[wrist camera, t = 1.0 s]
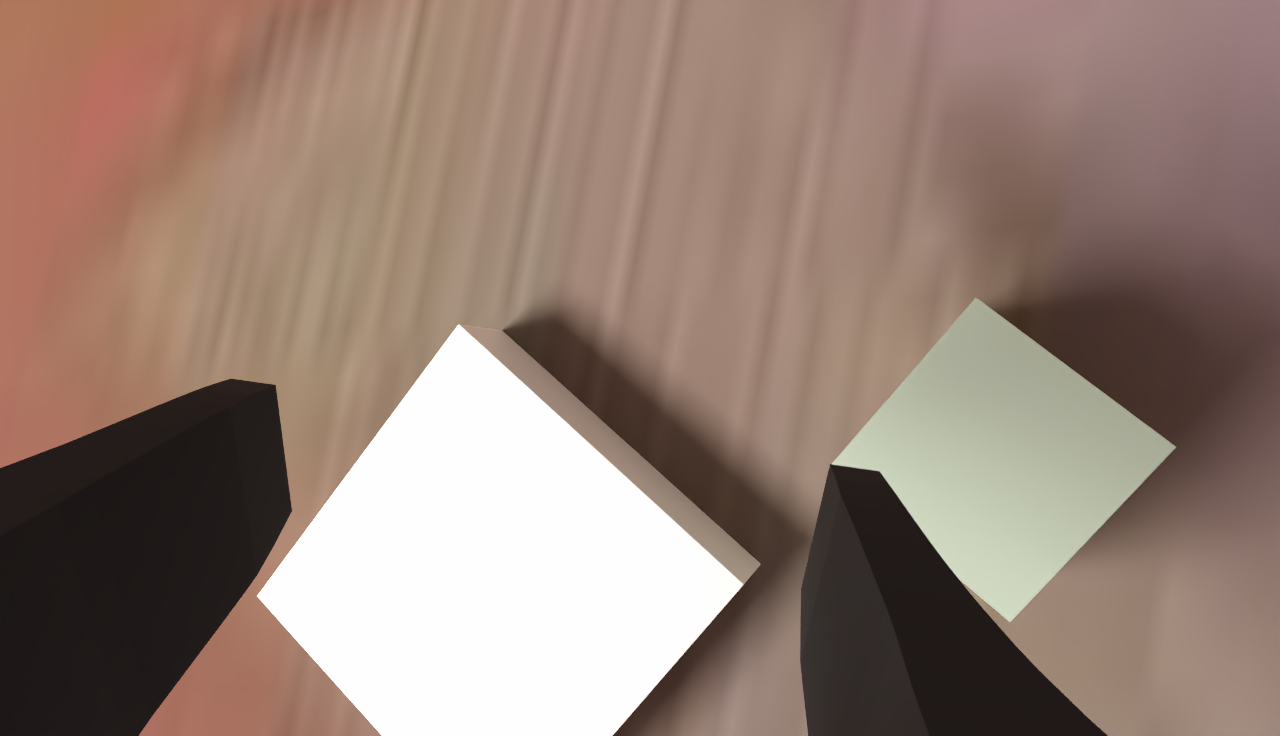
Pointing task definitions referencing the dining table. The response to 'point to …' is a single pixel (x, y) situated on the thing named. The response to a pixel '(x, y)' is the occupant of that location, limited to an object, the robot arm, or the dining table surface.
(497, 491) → the base block
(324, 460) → the dining table surface
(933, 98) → the dining table surface
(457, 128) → the dining table surface
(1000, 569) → the sage block
